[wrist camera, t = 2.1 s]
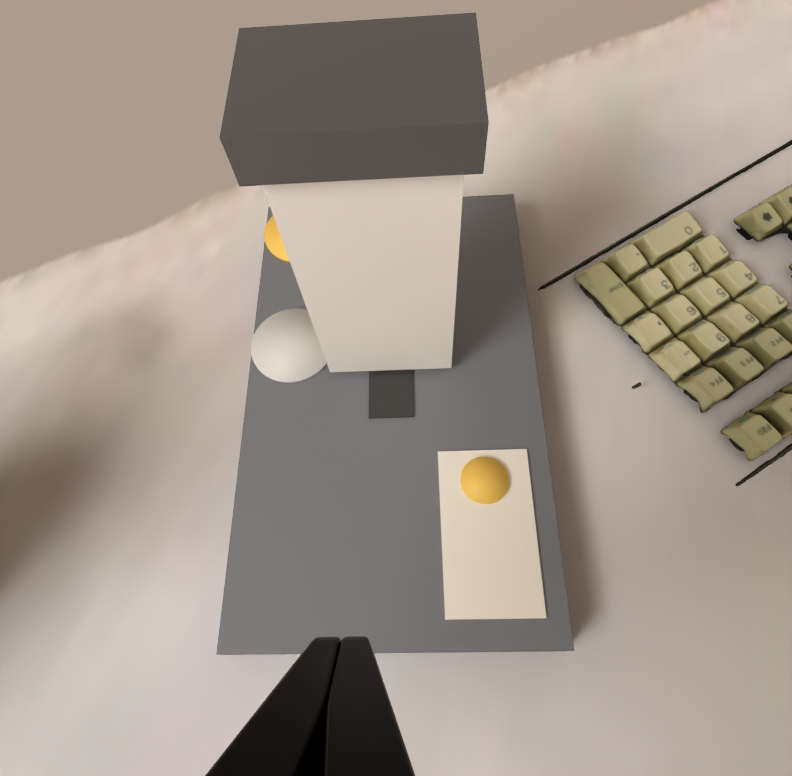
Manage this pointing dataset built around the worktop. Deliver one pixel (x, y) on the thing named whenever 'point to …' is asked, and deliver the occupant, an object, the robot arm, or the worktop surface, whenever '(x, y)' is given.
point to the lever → (365, 173)
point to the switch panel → (398, 478)
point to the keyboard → (704, 312)
